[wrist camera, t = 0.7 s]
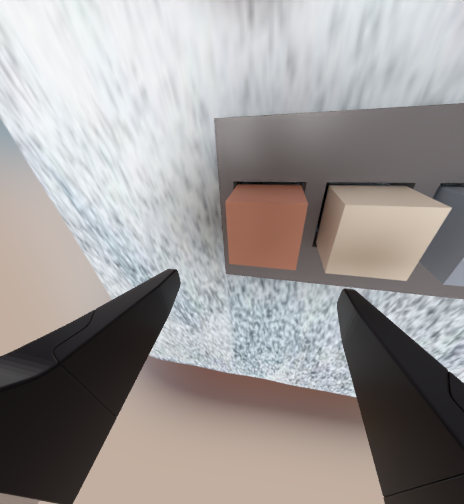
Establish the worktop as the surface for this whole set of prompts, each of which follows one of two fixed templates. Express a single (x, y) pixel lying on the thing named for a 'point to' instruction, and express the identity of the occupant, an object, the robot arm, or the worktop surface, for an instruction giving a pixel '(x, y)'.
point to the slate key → (448, 240)
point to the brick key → (265, 225)
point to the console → (342, 172)
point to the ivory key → (376, 230)
